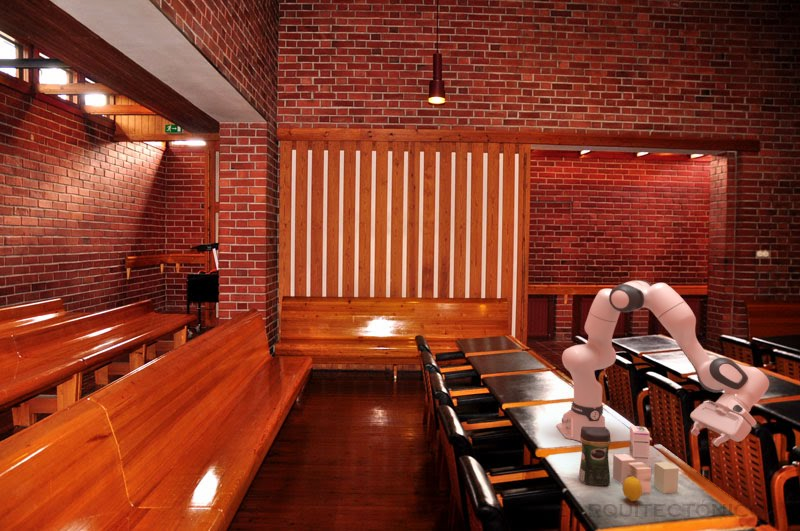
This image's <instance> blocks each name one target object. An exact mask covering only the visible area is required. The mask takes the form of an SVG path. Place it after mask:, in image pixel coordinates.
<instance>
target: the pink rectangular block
mask: <svg viewBox="0 0 800 531" xmlns="http://www.w3.org/2000/svg"><path fill="white" fill-rule="evenodd" d="M612 456H613V457H612V458H613V461H612V462H613V463H612V479H614V480H615V481H616V482H618V483H619V484H620V485H623V483H624V481H625V479H626V478H628V463H635V461H636V460H635V459H633V458H632V457H630V456H629V453H628V454H627V453H623V454H622V453H621V454H620V453H619V454H613V455H612Z"/></svg>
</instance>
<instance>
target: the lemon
mask: <svg viewBox="0 0 800 531" xmlns="http://www.w3.org/2000/svg"><path fill="white" fill-rule="evenodd" d="M622 493H623V495H624V496H625V498H626V499H628V500H629V501H630V502H632V501H633V502H634V501H638V500H639V499H640V498H641V496H642V495H643V493H642V486H641V483H640V481H639V480H638V479H637V478H635V477H634V476H631V477H628V478H626V479H625V481H624V483H623V484H622Z"/></svg>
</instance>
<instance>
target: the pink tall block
mask: <svg viewBox="0 0 800 531" xmlns="http://www.w3.org/2000/svg"><path fill="white" fill-rule="evenodd" d="M631 476H634V477H635V478H637V479H638V480H639V481H640V483H641V486H642V494H651V489H652V485H651V484H652V483H651V482H652V468H651V467H650V466H649V467H648V466H647V465H645V464H644V463H642V462H637V463H628V477H631Z"/></svg>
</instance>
